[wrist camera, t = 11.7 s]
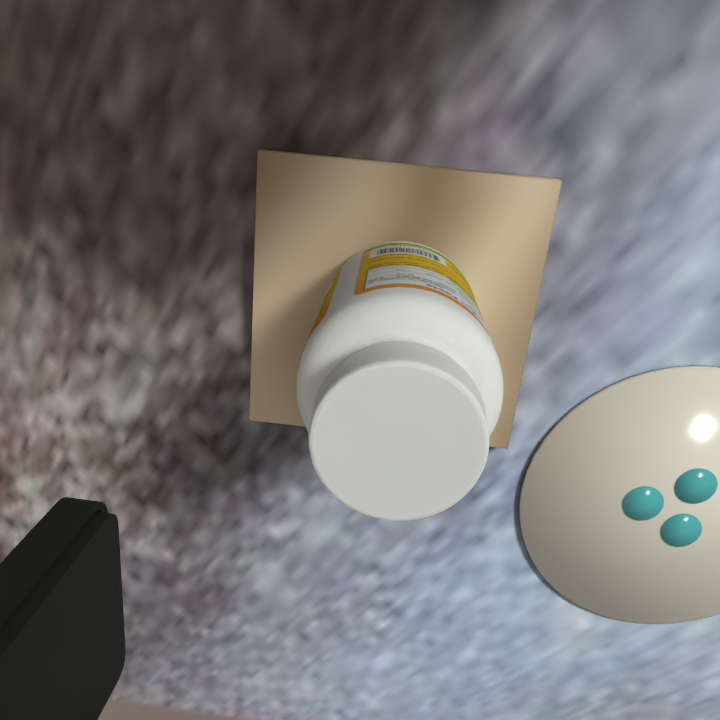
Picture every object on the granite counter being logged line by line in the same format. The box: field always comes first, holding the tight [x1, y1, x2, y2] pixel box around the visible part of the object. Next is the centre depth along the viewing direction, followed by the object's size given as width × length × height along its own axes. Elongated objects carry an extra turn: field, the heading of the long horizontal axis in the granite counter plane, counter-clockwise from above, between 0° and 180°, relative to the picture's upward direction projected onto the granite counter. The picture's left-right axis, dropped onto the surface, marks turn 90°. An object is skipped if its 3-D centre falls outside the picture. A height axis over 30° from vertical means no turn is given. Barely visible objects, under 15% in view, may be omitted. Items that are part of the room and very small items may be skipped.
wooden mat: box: [249, 149, 562, 449], centre depth 23 cm, size 10×10×1 cm
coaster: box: [519, 365, 720, 624], centre depth 26 cm, size 12×12×1 cm
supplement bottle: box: [297, 241, 503, 521], centre depth 19 cm, size 5×5×10 cm
